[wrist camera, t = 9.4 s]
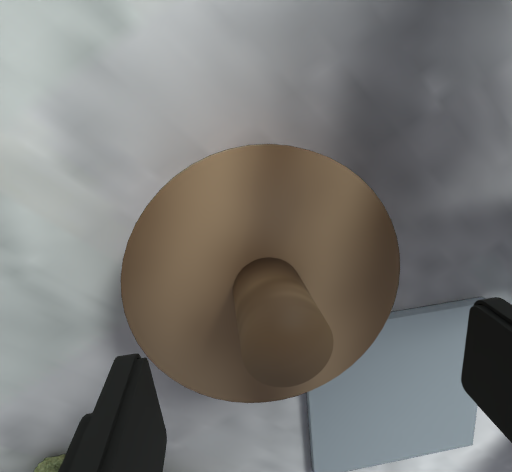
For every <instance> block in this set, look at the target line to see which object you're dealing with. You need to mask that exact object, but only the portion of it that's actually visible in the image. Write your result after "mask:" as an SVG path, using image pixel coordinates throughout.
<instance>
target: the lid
mask: <svg viewBox="0 0 512 472" xmlns="http://www.w3.org/2000/svg"><path fill="white" fill-rule="evenodd" d="M399 274H400V255H399V247H398V242H397V236H396V233H395V230H394V227H393V224H392V221H391V219H390V217H389V215H388V213H387V211H386V209H385V207H384V205H383V204H382V202H381V201H380V200H379V198H378V197H377V195H376V194H375V193H374V191H373V190H372V189H371V188H370V187H369V186H368V185H367V184H366V183H365V182H364V181H363V180H362V179H361V178H360V177H359V176H357V175H356V174H355V173H353V172H352V171H351V170H350V169H348V168H347V167H345V166H344V165H342V164H340V163H338V162H336V161H335V160H333V159H331V158H329V157H326V156H324V155H321V154H318V153H316V152H313V151H310V150H306V149H301V148H297V147H292V146H288V145H276V144H258V145H246V146H241V147H236V148H231V149H227V150H224V151H221V152H218V153H215V154H212V155H210V156H208V157H206V158H204V159H202V160H200V161H198V162H196V163H194V164H192V165H190V166H189V167H188V168H186V169H185V170H183V171H182V172H180V173H179V174H177V175H176V176H175V177H174V178H172V179H171V180H170V181H169V182H168V183H167V184H166V185H165V186H164V187H163V188H161V190H160V191H159V192H158V193H157V194H156V196H155V197H154V198H153V199H152V200H151V202H150V203H149V204H148V205H147V207H146V208H145V210H144V211H143V213H142V214H141V216H140V218H139V219H138V221H137V223H136V224H135V226H134V229H133V231H132V233H131V236H130V238H129V240H128V243H127V247H126V250H125V254H124V258H123V263H122V272H121V296H122V301H123V307H124V312H125V315H126V318H127V321H128V324H129V327H130V329H131V331H132V333H133V335H134V337H135V339H136V341H137V343H138V344H139V346H140V347H141V348H142V350H143V351H144V353H145V354H146V355H147V357H148V358H149V359H150V360H151V361H152V362H153V363H154V364H155V365H156V366H157V367H158V368H159V369H160V370H161V371H162V372H164V373H165V374H166V375H167V376H169V377H170V378H171V379H173V380H174V381H176V382H178V383H179V384H181V385H183V386H184V387H186V388H188V389H191V390H193V391H195V392H197V393H199V394H202V395H206V396H209V397H212V398H215V399H220V400H225V401H231V402H243V403H260V402H270V401H277V400H282V399H286V398H291V397H295V396H298V395H300V394H303V393H306V392H309V391H311V390H313V389H316V388H318V387H320V386H322V385H324V384H326V383H327V382H329V381H331V380H332V379H334V378H336V377H337V376H339V375H340V374H341V373H343V372H344V371H345V370H347V369H348V368H349V367H351V366H352V365H353V364H354V363H355V362H356V361H357V360H358V359H359V358H360V357H361V356H362V355H363V354H364V353H365V352H366V351H367V350H368V348H369V347H370V346H371V345H372V344H373V342H374V341H375V339H376V338H377V336H378V335H379V333H380V332H381V330H382V329H383V327H384V325H385V323H386V321H387V319H388V317H389V315H390V312H391V310H392V307H393V304H394V301H395V298H396V293H397V289H398V285H399Z"/></svg>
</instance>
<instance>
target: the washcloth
mask: <svg viewBox="0 0 512 472" xmlns="http://www.w3.org/2000/svg"><path fill="white" fill-rule="evenodd" d="M65 455H66V454H62V455H60V456H55V457H49V458H45V459H44V461H43V462H41V463H39V464H38V467H36V468H35V471H34V472H58V471H59V469H60V466H61V464H62V462H63V460H64V457H65Z"/></svg>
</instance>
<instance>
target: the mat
mask: <svg viewBox="0 0 512 472" xmlns="http://www.w3.org/2000/svg"><path fill="white" fill-rule="evenodd" d="M482 299H485V298H483V297H478V298H472V299H466V300H460V301H455V302H449V303H443V304H437V305H431V306H425V307H419V308H413V309H407V310H401V311H395V312H390V315H389V317H388V319H387V321H386V323H385V325H384V327H383V329H382V330H381V332H380V333H379V335H378V336H377V338H376V339H375V341H374V342H373V344H372V345H371V346H370V347H369V348H368V350H367V351H366V352H365V353H364V354H363V355H362V356H361V357H360V358H359V359H358V360H357V361H356V362H355V363H354V364H353V365H352V366H351V367H349V368H348V369H347V370H345V371H344V372H343V373H341V374H340V375H339V376H337V377H336V378H334V379H332V380H331V381H329V382H327V383H326V384H324V385H322V386H320V387H318V388H316V389H313V390H311V391H309V392H306V393H307V407H308V420H309V434H310V447H311V461H312V470H313V472H347V471H352V470H357V469H361V468H366V467H371V466H376V465H380V464H385V463H390V462H395V461H399V460H404V459H409V458H414V457H418V456H423V455H428V454H433V453H437V452H442V451H447V450H452V449H456V448H461V447H466V446H471V445H473V437H474V429H475V421H476V413H477V404H476V403H475V402H474V401H473V400H472V398H471V397H470V396H469V395H468V394H467V393H466V392H465V390H464V388H463V386H462V383H461V374H462V366H463V358H464V350H465V342H466V334H467V326H468V318H469V311H470V308H471V307H472V306H474V303H475V302H476V301H478V300H482Z"/></svg>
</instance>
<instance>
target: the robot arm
mask: <svg viewBox="0 0 512 472" xmlns="http://www.w3.org/2000/svg"><path fill="white" fill-rule="evenodd" d="M461 383H462V386H463V388H464V390H465V392H466V393H467V394H468V395H469V396H470V397H471V398H472V400H473V401H474V402H475V403H476V404H477V405H478V406H479V407H480V408H481V409H482V411H483V412H484V413H485V414H486V415H487V416H488V417H489V418H490V419H491V421H492V422H493V423H494V424H495V425H496V426H497V427H498V428H499V429H500V430H501V432H502V433H503V434H504V435H505V436H506V437H507V438H508V439H509V440H510V441H511V443H512V305H511V304H509V303H508V302H506V301H505V300H503V299H501V298H497V297H495V298H489V299H482V300H478V301H476V302H475V303H474V306H472V307H471V308H470V311H469V318H468V326H467V334H466V342H465V350H464V358H463V366H462V374H461ZM166 443H167V436H166V429H165V425H164V421H163V417H162V413H161V409H160V406H159V402H158V398H157V394H156V390H155V386H154V382H153V378H152V374H151V371H150V367H149V363H148V360H147V358H141V357H140V355H139V354H131V355H124V356H118V357H116V358H115V360H114V362H113V365H112V367H111V370H110V372H109V374H108V377H107V379H106V382H105V384H104V387H103V389H102V392H101V394H100V396H99V399H98V401H97V404H96V406H95V409H94V411H93V413H91V414H86V415H85V416H84V417H83V418H82V420H81V421H80V423H79V425H78V428H77V430H76V432H75V434H74V437H73V439H72V441H71V444H70V446H69V448H68V450H67V453H66V455H65V457H64V460H63V462H62V464H61V466H60V469H59V471H58V472H162V471H163V465H164V458H165V451H166Z"/></svg>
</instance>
